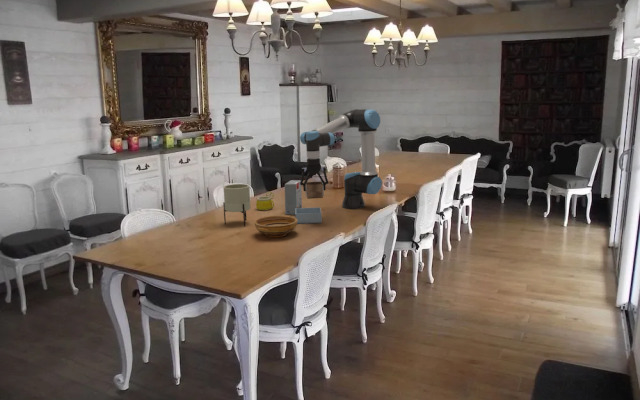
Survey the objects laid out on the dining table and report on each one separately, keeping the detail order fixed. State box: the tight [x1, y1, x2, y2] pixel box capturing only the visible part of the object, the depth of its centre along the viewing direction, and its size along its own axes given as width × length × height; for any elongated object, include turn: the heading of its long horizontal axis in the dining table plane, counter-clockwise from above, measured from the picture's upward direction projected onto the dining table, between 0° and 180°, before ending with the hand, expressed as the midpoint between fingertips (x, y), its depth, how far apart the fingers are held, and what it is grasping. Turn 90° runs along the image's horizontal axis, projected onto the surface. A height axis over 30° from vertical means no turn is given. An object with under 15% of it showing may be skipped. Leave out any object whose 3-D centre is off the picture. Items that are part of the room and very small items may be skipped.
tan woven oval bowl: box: [253, 215, 298, 238], centre depth 297 cm, size 30×24×8 cm
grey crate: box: [294, 207, 323, 225], centre depth 327 cm, size 16×16×6 cm
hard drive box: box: [284, 179, 303, 216], centre depth 347 cm, size 16×8×20 cm, turn 168°
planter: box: [223, 183, 251, 227], centre depth 321 cm, size 15×16×23 cm
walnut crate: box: [306, 181, 324, 200], centre depth 313 cm, size 9×9×8 cm
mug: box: [255, 191, 275, 211], centre depth 358 cm, size 13×11×12 cm
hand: (314, 196), depth 314 cm, fingers closed on walnut crate, 9 cm apart
